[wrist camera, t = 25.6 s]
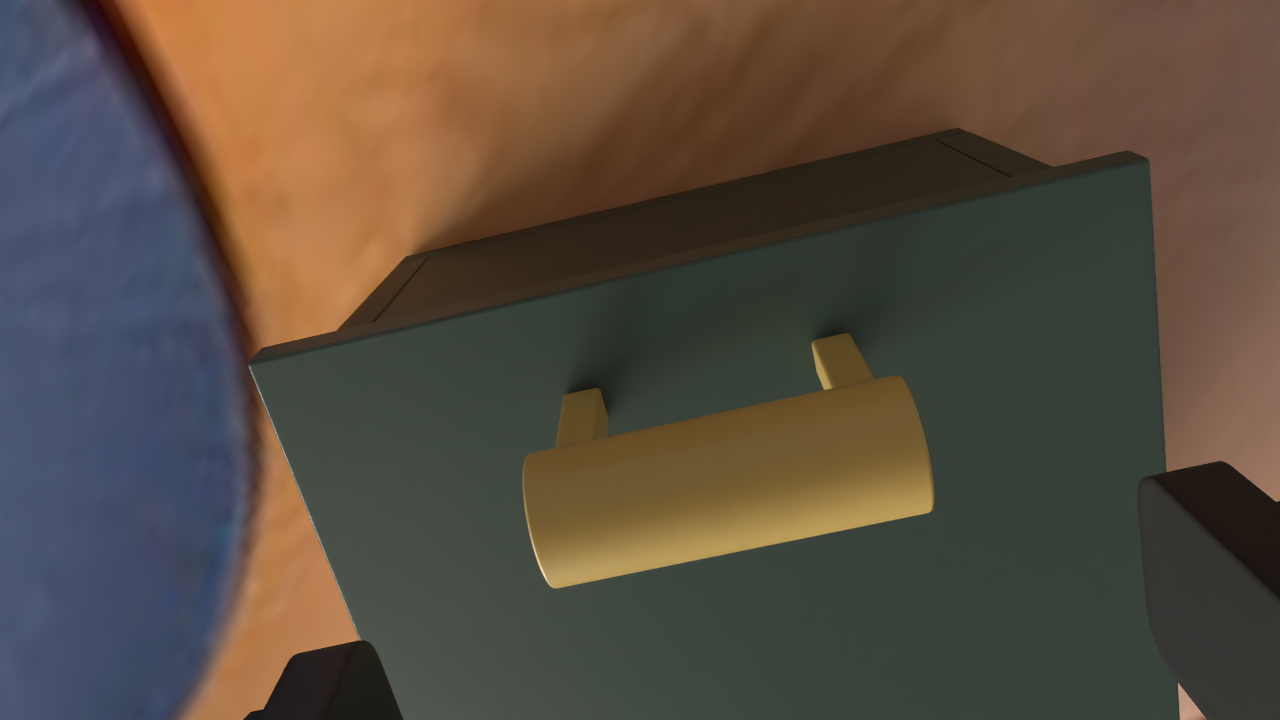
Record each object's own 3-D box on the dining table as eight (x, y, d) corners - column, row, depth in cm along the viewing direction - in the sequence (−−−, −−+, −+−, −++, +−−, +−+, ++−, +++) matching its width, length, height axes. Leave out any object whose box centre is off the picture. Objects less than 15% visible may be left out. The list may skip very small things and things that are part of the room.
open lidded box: (404, 256, 30) (291, 376, 20) (959, 126, 28) (1113, 190, 19) (551, 720, 35) (516, 986, 25) (1026, 629, 33) (1173, 874, 24)
